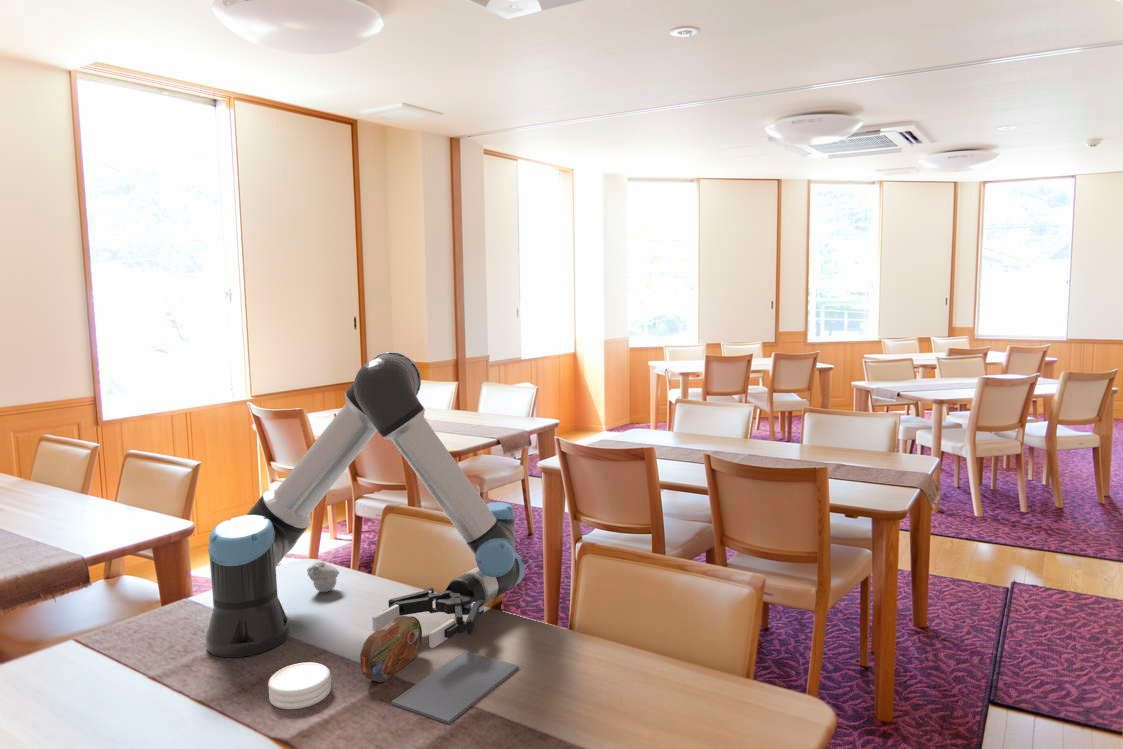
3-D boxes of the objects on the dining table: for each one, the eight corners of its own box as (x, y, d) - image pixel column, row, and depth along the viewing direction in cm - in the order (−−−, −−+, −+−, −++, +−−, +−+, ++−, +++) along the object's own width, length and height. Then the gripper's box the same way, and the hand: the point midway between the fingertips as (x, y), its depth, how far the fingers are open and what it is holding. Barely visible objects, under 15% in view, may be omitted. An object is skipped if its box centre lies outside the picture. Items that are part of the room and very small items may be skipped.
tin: (372, 691, 132) (370, 644, 131) (358, 687, 133) (355, 641, 132) (424, 652, 145) (422, 609, 144) (410, 649, 147) (408, 606, 146)
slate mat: (391, 704, 128) (391, 701, 127) (465, 653, 145) (465, 650, 145) (448, 724, 122) (448, 721, 121) (518, 668, 139) (518, 665, 139)
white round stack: (342, 684, 134) (341, 665, 134) (307, 715, 125) (305, 695, 125) (294, 676, 138) (293, 657, 137) (256, 705, 128) (255, 685, 128)
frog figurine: (311, 587, 177) (309, 557, 176) (342, 585, 178) (340, 556, 177) (305, 597, 171) (303, 567, 170) (337, 596, 172) (336, 565, 171)
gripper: (522, 620, 153) (457, 668, 135) (425, 596, 165) (352, 637, 147) (521, 584, 152) (455, 627, 134) (423, 563, 165) (350, 599, 146)
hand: (401, 632), depth 141 cm, fingers open, 13 cm apart
